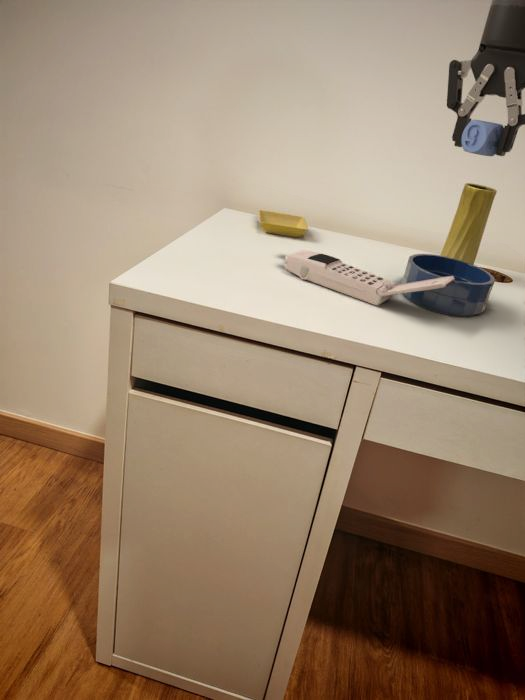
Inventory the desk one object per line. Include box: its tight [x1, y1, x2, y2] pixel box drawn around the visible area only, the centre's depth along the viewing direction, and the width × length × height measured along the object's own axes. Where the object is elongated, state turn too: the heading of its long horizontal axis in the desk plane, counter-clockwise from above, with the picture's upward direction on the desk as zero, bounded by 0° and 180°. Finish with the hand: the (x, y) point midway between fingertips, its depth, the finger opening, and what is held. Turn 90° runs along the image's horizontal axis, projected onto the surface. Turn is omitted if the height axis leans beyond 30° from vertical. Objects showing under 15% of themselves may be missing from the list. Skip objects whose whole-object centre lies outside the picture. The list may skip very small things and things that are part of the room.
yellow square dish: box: [258, 209, 309, 238], centre depth 106 cm, size 9×9×2 cm
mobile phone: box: [283, 249, 455, 306], centre depth 82 cm, size 6×6×25 cm
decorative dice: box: [461, 119, 505, 157], centre depth 78 cm, size 4×4×4 cm
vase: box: [440, 182, 498, 265], centre depth 99 cm, size 6×6×14 cm
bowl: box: [401, 253, 496, 317], centre depth 85 cm, size 12×12×5 cm
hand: (479, 150), depth 79 cm, fingers closed on decorative dice, 5 cm apart
